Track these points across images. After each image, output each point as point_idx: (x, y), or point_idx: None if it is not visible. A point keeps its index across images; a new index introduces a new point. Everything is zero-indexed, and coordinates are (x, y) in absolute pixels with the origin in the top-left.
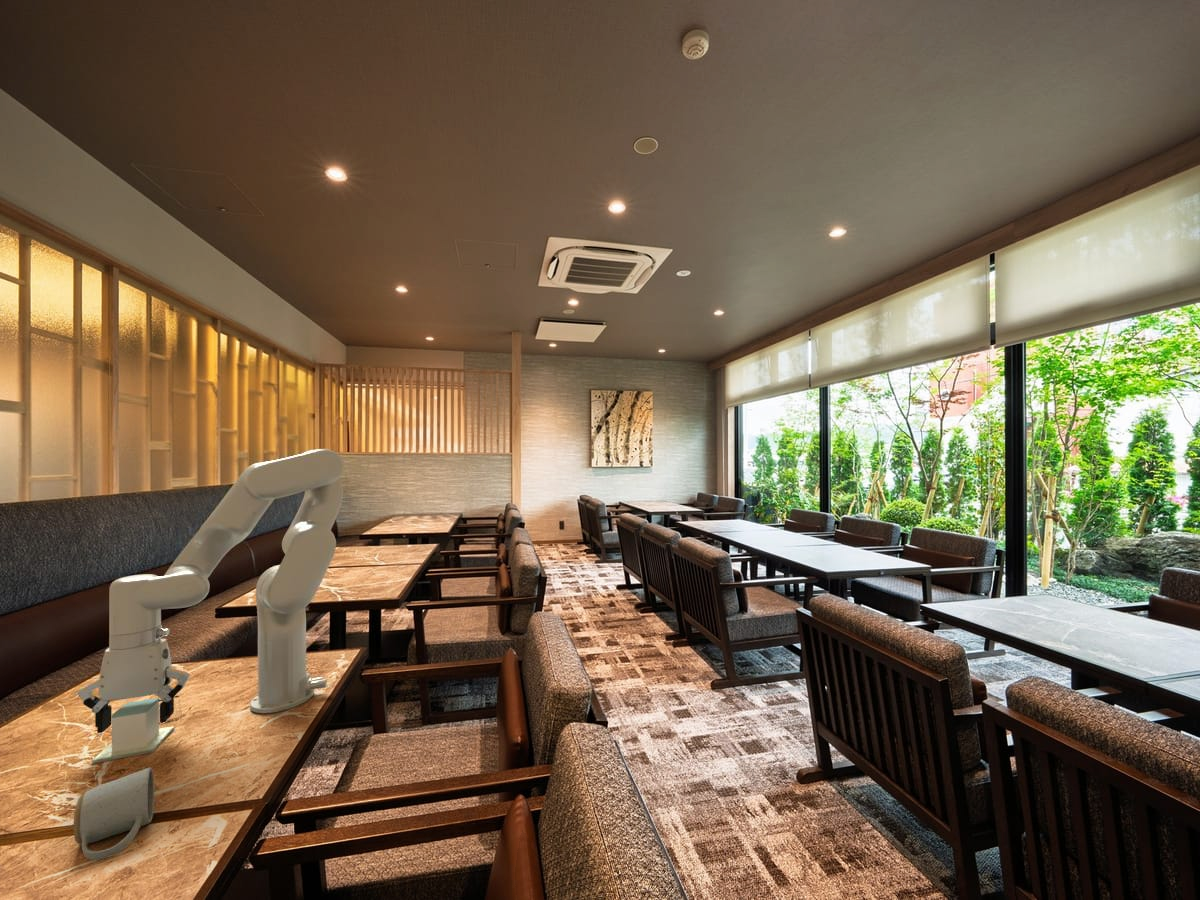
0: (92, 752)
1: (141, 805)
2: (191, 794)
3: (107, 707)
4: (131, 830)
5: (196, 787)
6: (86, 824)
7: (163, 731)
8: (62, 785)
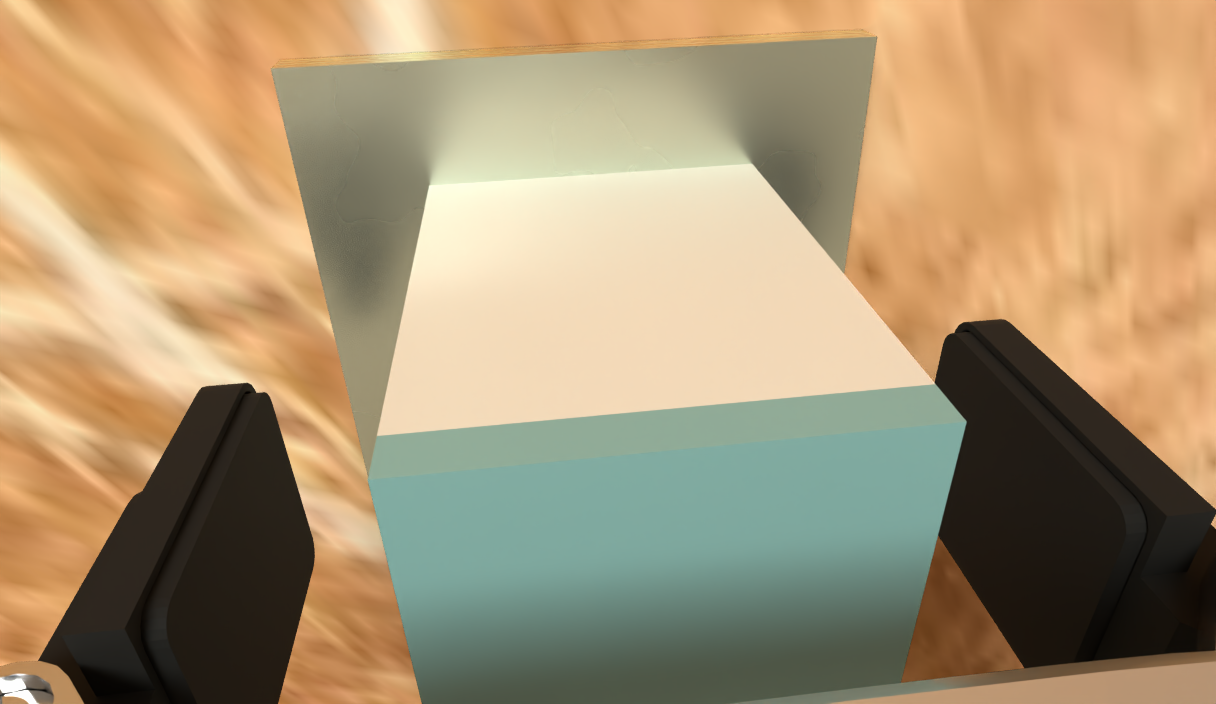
0: (206, 317)
1: None
2: None
3: (159, 700)
4: None
5: None
6: None
7: (794, 154)
8: (389, 701)
